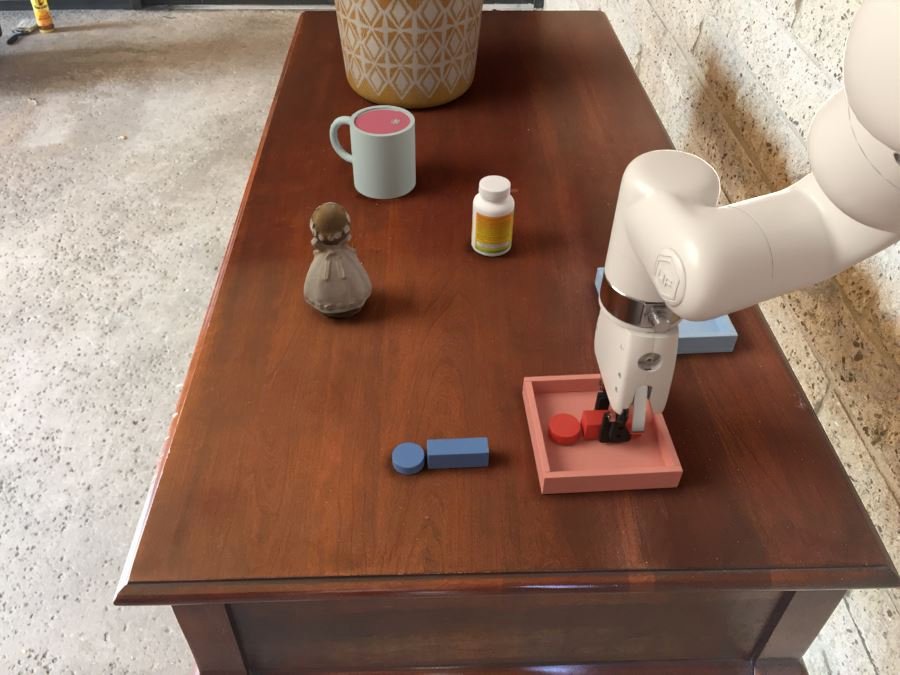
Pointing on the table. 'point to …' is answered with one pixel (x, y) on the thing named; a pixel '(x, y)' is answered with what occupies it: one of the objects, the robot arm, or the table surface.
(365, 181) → the mug
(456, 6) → the planter
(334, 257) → the figurine
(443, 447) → the blue spoon
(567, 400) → the red tray
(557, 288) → the table surface
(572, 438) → the red spoon
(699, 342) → the blue tray
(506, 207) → the supplement bottle
